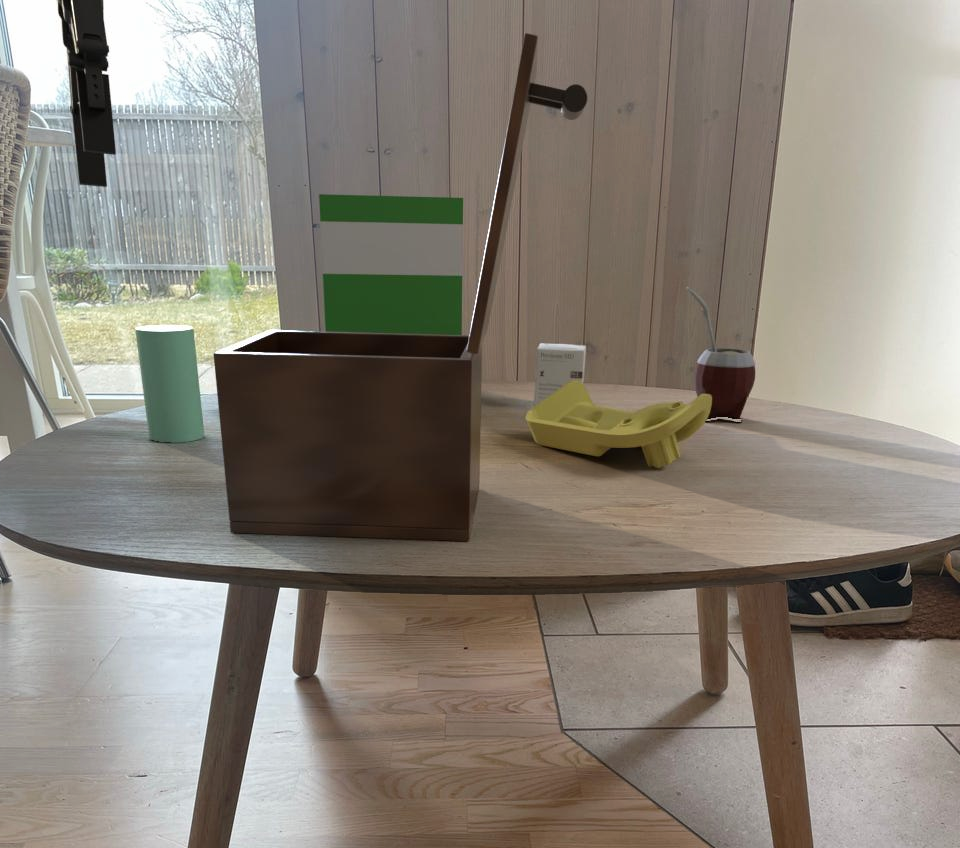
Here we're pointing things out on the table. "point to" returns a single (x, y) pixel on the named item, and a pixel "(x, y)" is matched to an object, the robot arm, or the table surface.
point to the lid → (515, 173)
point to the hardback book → (392, 264)
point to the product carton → (557, 368)
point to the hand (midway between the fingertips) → (96, 170)
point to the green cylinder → (170, 383)
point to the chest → (351, 434)
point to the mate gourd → (723, 374)
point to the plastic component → (615, 424)
